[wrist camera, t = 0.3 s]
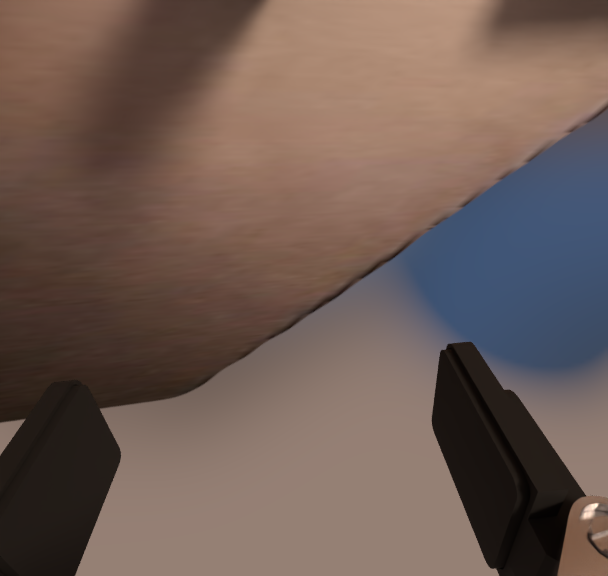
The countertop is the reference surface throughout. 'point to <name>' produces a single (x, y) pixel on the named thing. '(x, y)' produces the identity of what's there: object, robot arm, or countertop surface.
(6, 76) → the countertop surface
